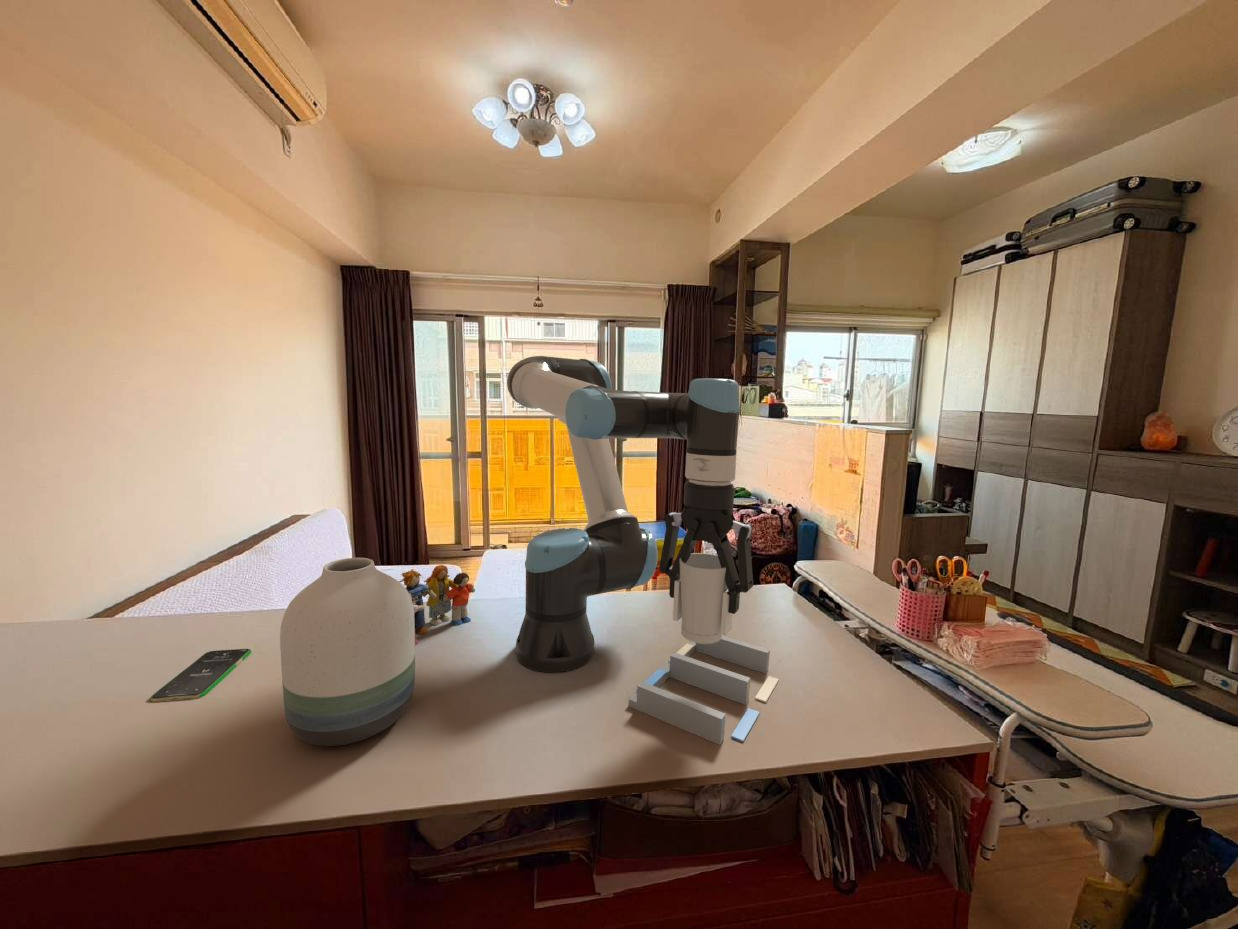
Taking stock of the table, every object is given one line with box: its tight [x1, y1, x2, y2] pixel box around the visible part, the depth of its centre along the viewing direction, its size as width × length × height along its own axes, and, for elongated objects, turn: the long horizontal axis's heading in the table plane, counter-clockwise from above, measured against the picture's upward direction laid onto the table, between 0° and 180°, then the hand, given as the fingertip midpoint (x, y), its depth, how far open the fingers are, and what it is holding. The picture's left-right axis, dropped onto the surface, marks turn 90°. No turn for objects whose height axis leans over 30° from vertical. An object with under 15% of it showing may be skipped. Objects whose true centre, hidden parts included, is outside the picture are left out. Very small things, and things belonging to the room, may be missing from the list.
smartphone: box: [148, 648, 252, 703], centre depth 82 cm, size 8×1×15 cm
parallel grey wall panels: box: [627, 635, 780, 746], centre depth 83 cm, size 18×24×4 cm
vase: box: [279, 557, 416, 747], centre depth 70 cm, size 17×17×24 cm
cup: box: [680, 552, 728, 644], centre depth 76 cm, size 8×8×12 cm
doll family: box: [398, 564, 476, 646], centre depth 100 cm, size 21×10×13 cm, turn 148°
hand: (701, 624), depth 76 cm, fingers closed on cup, 7 cm apart
